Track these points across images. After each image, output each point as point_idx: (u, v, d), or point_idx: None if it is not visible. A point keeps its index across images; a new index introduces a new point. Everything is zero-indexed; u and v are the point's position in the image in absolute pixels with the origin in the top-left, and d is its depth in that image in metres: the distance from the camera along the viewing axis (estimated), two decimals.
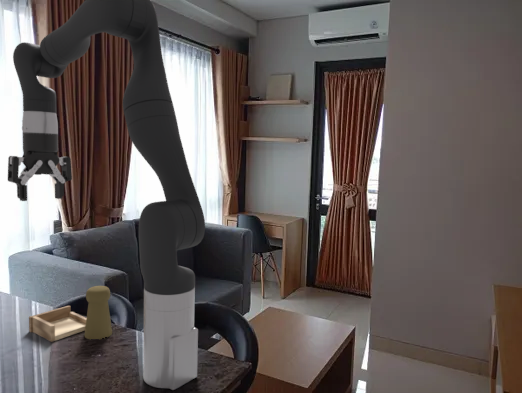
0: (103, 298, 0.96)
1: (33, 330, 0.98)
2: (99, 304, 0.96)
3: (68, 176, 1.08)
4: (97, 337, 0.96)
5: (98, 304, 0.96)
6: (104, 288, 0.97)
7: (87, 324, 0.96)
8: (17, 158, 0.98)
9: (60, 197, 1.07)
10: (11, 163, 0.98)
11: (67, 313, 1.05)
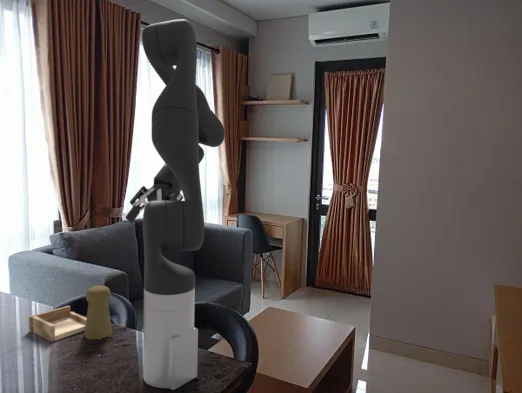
0: (103, 298, 0.96)
1: (33, 330, 0.98)
2: (99, 304, 0.96)
3: None
4: (97, 337, 0.96)
5: (98, 304, 0.96)
6: (104, 288, 0.97)
7: (87, 324, 0.96)
8: (143, 187, 1.13)
9: None
10: None
11: (67, 313, 1.05)
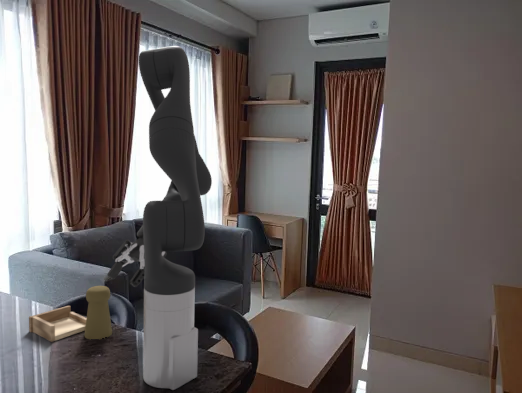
0: (103, 298, 0.96)
1: (33, 330, 0.98)
2: (99, 304, 0.96)
3: None
4: (97, 337, 0.96)
5: (98, 304, 0.96)
6: (104, 288, 0.97)
7: (87, 324, 0.96)
8: (126, 241, 1.10)
9: (130, 281, 0.99)
10: None
11: (67, 313, 1.05)
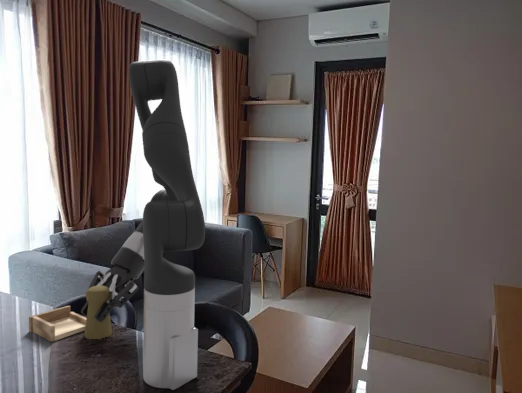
0: (103, 298, 0.96)
1: (33, 330, 0.98)
2: (99, 304, 0.96)
3: (114, 297, 0.96)
4: (97, 337, 0.96)
5: (98, 304, 0.96)
6: (104, 288, 0.97)
7: (87, 324, 0.96)
8: (98, 272, 1.04)
9: (95, 316, 0.94)
10: None
11: (67, 313, 1.05)
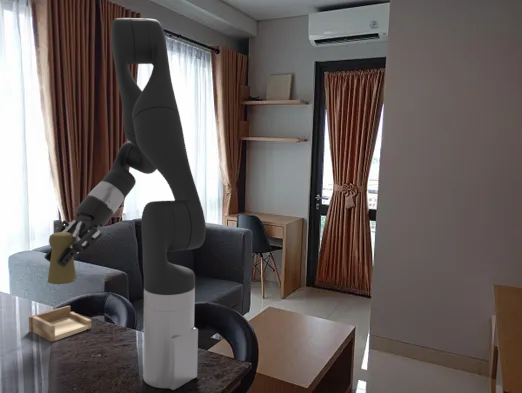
0: (65, 242, 0.96)
1: (33, 330, 0.98)
2: (62, 248, 0.96)
3: (77, 242, 0.96)
4: (60, 281, 0.96)
5: (61, 248, 0.96)
6: (67, 234, 0.97)
7: (50, 269, 0.96)
8: (64, 221, 1.04)
9: (57, 260, 0.95)
10: None
11: (67, 313, 1.05)
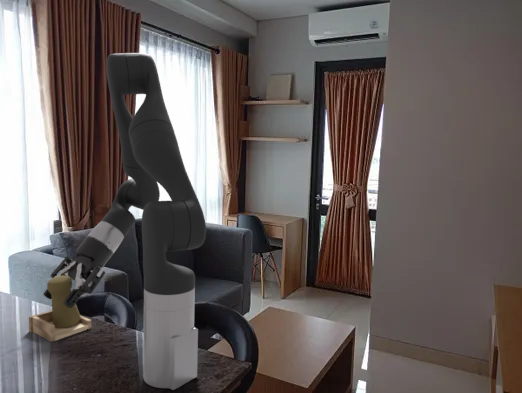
0: (63, 288, 0.97)
1: (33, 330, 0.98)
2: (61, 294, 0.97)
3: (84, 283, 0.96)
4: (64, 325, 0.98)
5: (60, 294, 0.97)
6: (64, 278, 0.98)
7: (53, 314, 0.98)
8: (66, 258, 1.05)
9: (64, 302, 0.95)
10: None
11: None
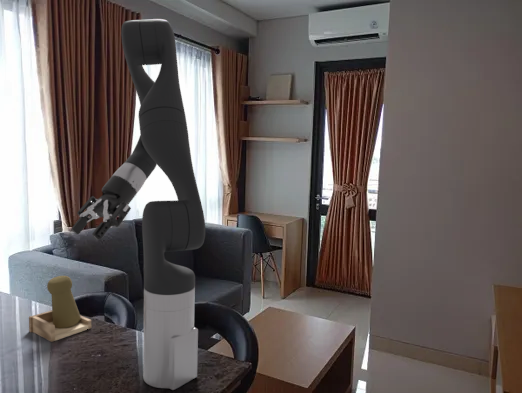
0: (63, 288, 0.97)
1: (33, 330, 0.98)
2: (61, 294, 0.97)
3: (112, 216, 1.01)
4: (64, 325, 0.98)
5: (60, 294, 0.97)
6: (64, 278, 0.98)
7: (53, 314, 0.98)
8: (92, 197, 1.10)
9: (93, 233, 1.00)
10: None
11: None
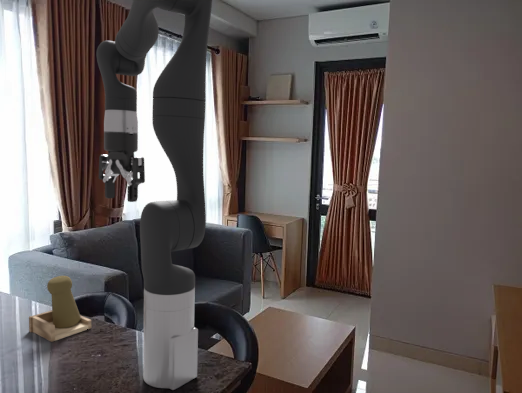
0: (63, 288, 0.97)
1: (33, 330, 0.98)
2: (61, 294, 0.97)
3: (133, 178, 0.97)
4: (64, 325, 0.98)
5: (60, 294, 0.97)
6: (64, 278, 0.98)
7: (53, 314, 0.98)
8: (101, 157, 1.04)
9: (128, 200, 0.99)
10: None
11: None
